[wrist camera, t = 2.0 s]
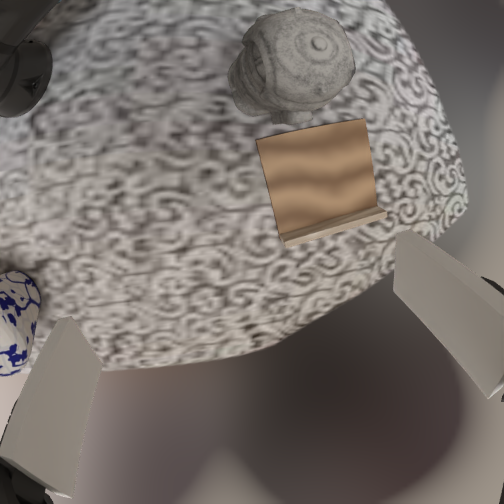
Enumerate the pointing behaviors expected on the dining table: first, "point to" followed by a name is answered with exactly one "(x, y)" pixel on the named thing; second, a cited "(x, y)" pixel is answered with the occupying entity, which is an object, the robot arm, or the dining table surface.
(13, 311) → the vase
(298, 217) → the shelf board
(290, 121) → the figurine
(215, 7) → the dining table surface
